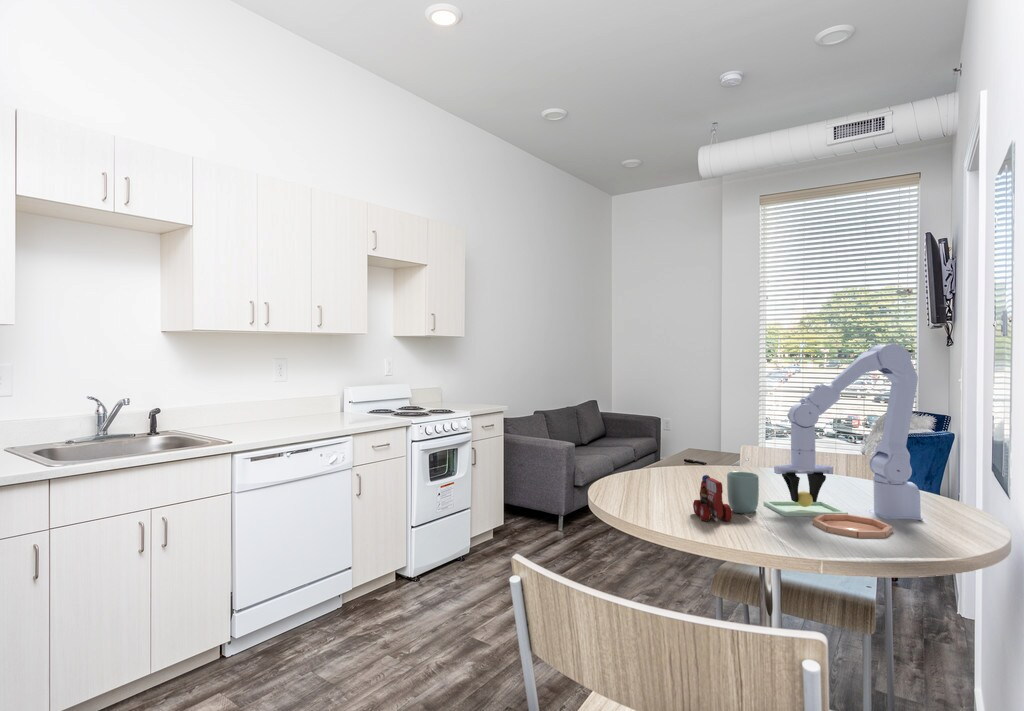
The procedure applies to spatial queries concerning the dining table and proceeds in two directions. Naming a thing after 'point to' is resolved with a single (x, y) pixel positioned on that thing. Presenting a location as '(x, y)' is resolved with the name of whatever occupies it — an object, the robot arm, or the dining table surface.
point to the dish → (853, 525)
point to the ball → (804, 499)
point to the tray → (803, 508)
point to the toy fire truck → (711, 501)
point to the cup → (743, 491)
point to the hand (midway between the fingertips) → (803, 501)
